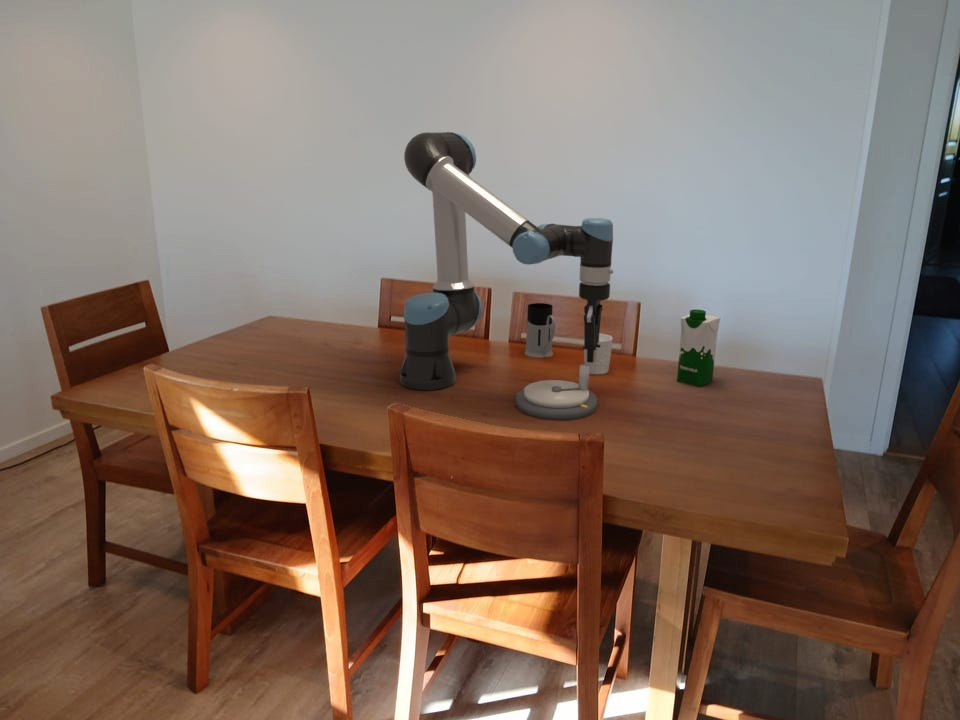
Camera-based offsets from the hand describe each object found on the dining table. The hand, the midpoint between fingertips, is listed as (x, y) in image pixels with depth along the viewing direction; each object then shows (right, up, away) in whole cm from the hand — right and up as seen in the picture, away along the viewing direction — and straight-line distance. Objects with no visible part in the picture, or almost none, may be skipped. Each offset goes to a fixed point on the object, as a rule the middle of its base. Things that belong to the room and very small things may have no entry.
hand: (590, 372), depth 186 cm
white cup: (+5, 0, +20) cm, 21 cm away
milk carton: (+31, -3, +12) cm, 33 cm away
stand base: (-9, -8, -5) cm, 13 cm away
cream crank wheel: (-9, -6, -6) cm, 12 cm away
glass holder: (-9, +4, +34) cm, 36 cm away
